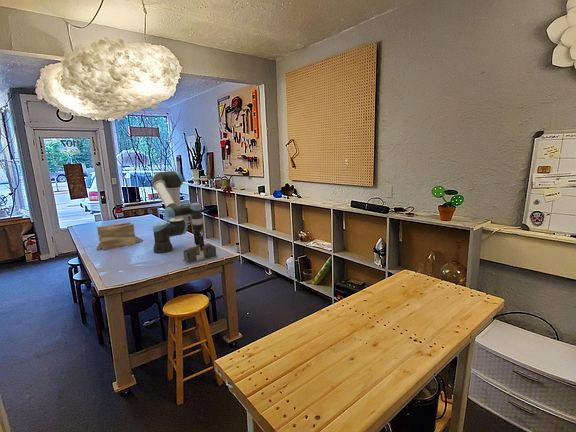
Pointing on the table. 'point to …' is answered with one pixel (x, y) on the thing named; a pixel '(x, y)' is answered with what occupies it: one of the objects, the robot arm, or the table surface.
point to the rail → (198, 249)
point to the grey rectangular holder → (193, 258)
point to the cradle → (116, 235)
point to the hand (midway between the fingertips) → (200, 254)
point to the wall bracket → (110, 227)
